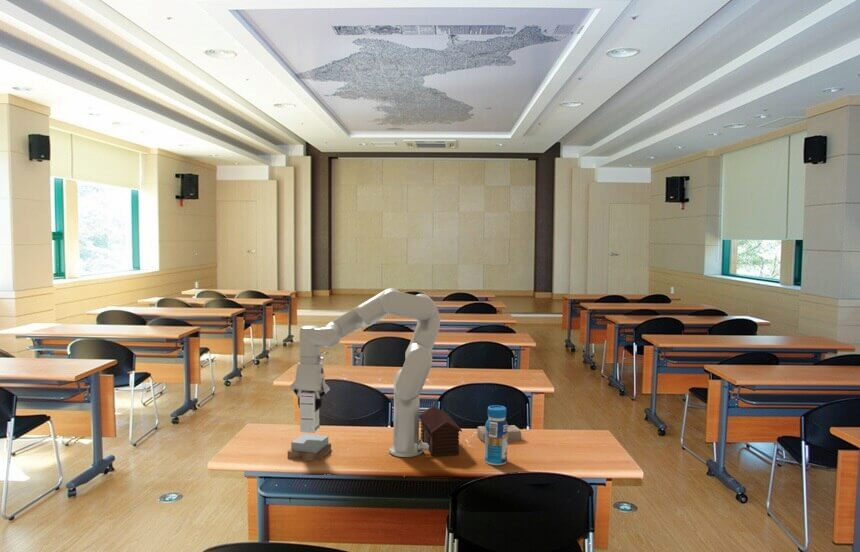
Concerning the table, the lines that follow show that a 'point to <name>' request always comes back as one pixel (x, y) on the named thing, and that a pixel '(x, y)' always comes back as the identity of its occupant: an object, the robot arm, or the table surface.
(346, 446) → the table surface
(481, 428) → the brick
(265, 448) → the table surface
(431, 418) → the model building
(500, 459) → the beverage bottle
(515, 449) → the table surface
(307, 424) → the syrup box
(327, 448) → the tower base
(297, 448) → the tower top
